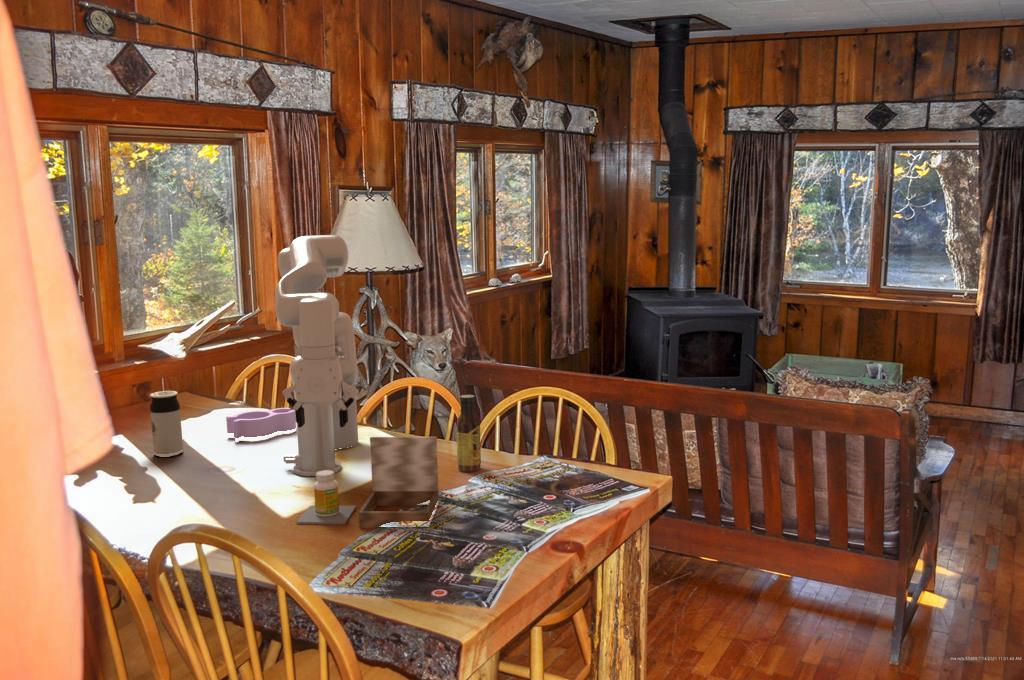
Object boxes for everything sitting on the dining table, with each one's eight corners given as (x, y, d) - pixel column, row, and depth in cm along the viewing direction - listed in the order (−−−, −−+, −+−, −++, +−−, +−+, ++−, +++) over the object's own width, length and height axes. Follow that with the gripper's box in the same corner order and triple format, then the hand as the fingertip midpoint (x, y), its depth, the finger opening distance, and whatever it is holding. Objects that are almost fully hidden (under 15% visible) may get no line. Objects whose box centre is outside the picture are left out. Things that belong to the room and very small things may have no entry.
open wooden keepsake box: (359, 527, 208) (355, 455, 206) (373, 504, 224) (370, 437, 221) (429, 527, 207) (426, 455, 205) (439, 504, 223) (436, 436, 220)
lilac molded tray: (286, 426, 302) (285, 405, 301) (301, 434, 292) (300, 412, 291) (224, 437, 291) (223, 415, 289) (238, 445, 280) (236, 422, 279)
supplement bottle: (327, 518, 213) (325, 477, 211) (310, 514, 216) (307, 474, 214) (344, 511, 217) (341, 471, 216) (327, 507, 220) (324, 467, 219)
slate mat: (296, 524, 211) (296, 522, 211) (310, 507, 222) (310, 505, 222) (345, 524, 211) (345, 521, 211) (356, 507, 222) (356, 505, 222)
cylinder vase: (365, 445, 276) (361, 362, 272) (325, 453, 269) (320, 367, 265) (347, 437, 286) (343, 356, 282) (308, 444, 279) (303, 361, 275)
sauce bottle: (478, 473, 246) (475, 399, 243) (454, 472, 248) (452, 398, 244) (483, 466, 253) (481, 393, 250) (461, 465, 254) (458, 393, 251)
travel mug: (183, 449, 277) (178, 389, 274) (183, 456, 269) (178, 394, 266) (154, 452, 274) (149, 391, 271) (153, 459, 267) (148, 397, 264)
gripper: (275, 355, 209) (280, 430, 212) (352, 355, 208) (355, 430, 211) (285, 349, 216) (290, 421, 219) (359, 349, 215) (363, 421, 218)
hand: (322, 425), depth 215 cm, fingers open, 9 cm apart
